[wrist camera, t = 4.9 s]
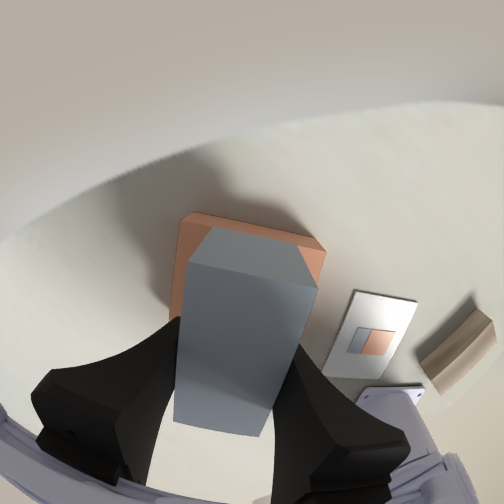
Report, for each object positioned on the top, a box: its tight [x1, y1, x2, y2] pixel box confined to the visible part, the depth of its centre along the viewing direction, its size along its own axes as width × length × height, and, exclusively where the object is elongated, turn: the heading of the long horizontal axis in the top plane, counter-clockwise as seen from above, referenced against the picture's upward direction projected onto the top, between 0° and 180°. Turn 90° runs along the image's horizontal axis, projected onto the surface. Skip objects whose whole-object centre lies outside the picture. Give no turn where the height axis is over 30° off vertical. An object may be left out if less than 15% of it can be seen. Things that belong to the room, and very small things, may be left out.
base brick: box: [169, 212, 326, 322], centre depth 17 cm, size 8×8×3 cm
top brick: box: [173, 226, 318, 437], centre depth 12 cm, size 8×4×5 cm, turn 168°
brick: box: [419, 308, 497, 396], centre depth 19 cm, size 4×8×3 cm, turn 133°
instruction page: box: [321, 291, 418, 379], centre depth 20 cm, size 8×6×1 cm
